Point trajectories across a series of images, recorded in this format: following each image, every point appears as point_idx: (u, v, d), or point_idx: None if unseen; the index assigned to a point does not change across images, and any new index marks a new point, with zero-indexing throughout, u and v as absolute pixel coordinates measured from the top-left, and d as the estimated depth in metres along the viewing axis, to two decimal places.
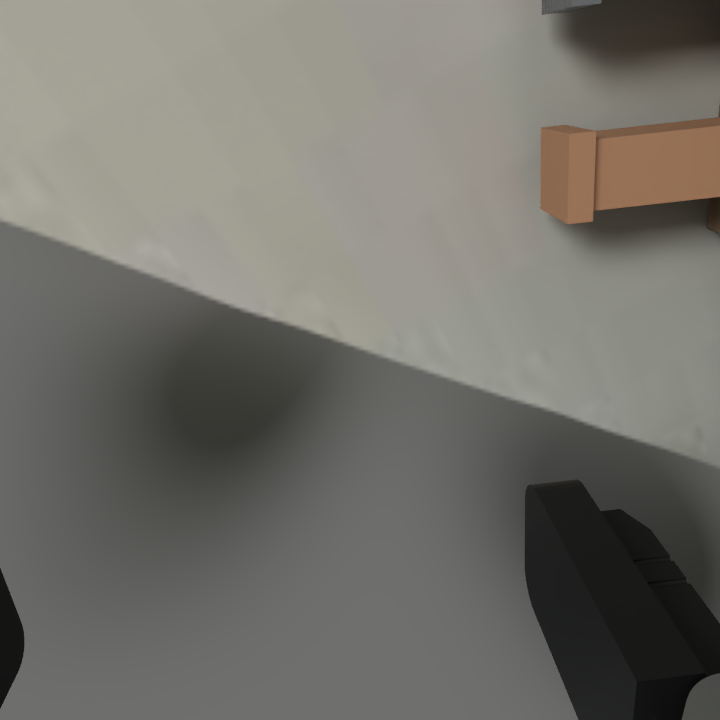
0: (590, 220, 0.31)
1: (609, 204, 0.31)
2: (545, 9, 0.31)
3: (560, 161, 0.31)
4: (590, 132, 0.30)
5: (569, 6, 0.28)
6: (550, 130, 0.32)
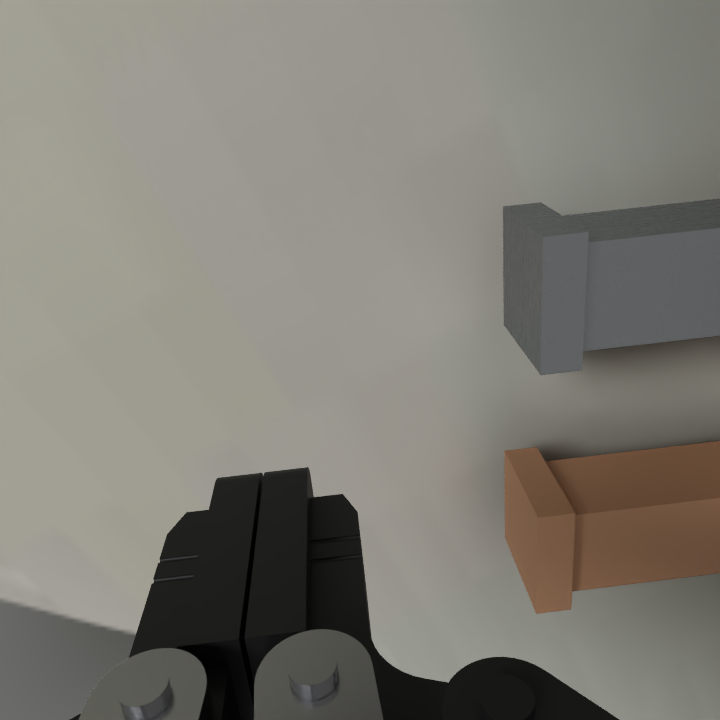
0: (567, 608, 0.23)
1: (593, 583, 0.23)
2: (507, 325, 0.22)
3: (527, 529, 0.23)
4: (567, 514, 0.21)
5: (537, 368, 0.20)
6: (515, 472, 0.24)
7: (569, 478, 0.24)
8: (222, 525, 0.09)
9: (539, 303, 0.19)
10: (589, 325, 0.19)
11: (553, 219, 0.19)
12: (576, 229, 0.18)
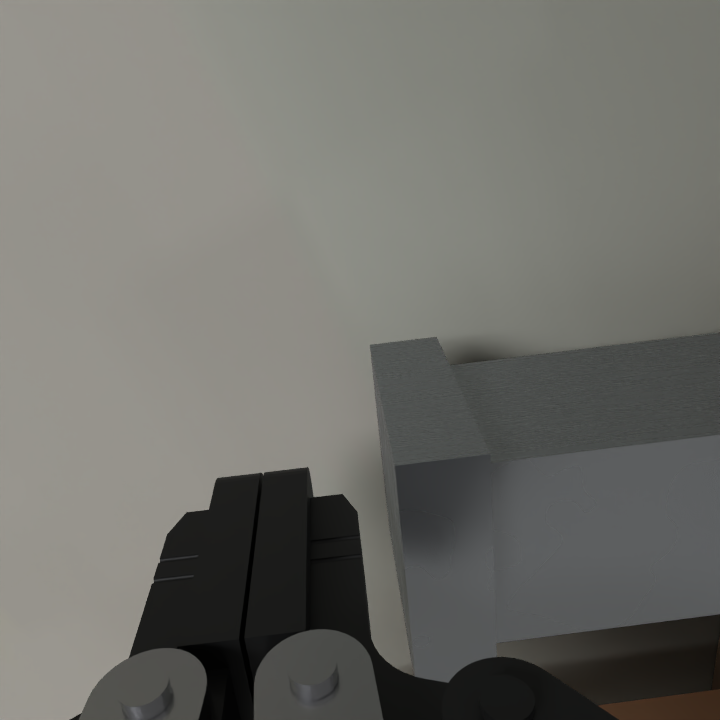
0: None
1: None
2: (391, 536, 0.13)
3: None
4: None
5: (414, 673, 0.10)
6: None
7: None
8: (222, 525, 0.09)
9: (404, 573, 0.09)
10: (510, 601, 0.10)
11: (437, 397, 0.10)
12: (469, 441, 0.09)
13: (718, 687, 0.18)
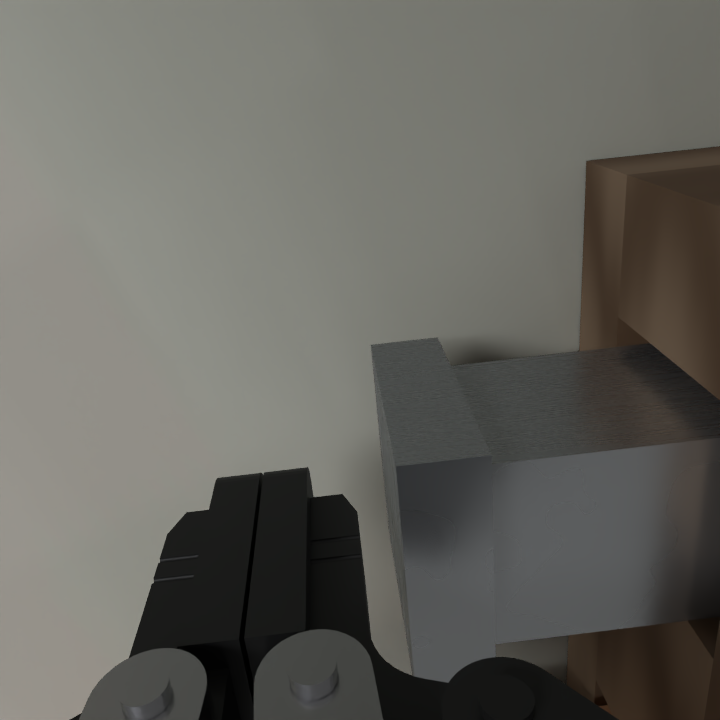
0: None
1: None
2: (390, 536, 0.13)
3: None
4: None
5: (413, 673, 0.10)
6: None
7: None
8: (222, 525, 0.09)
9: (403, 573, 0.09)
10: (509, 601, 0.10)
11: (438, 398, 0.10)
12: (470, 442, 0.09)
13: None
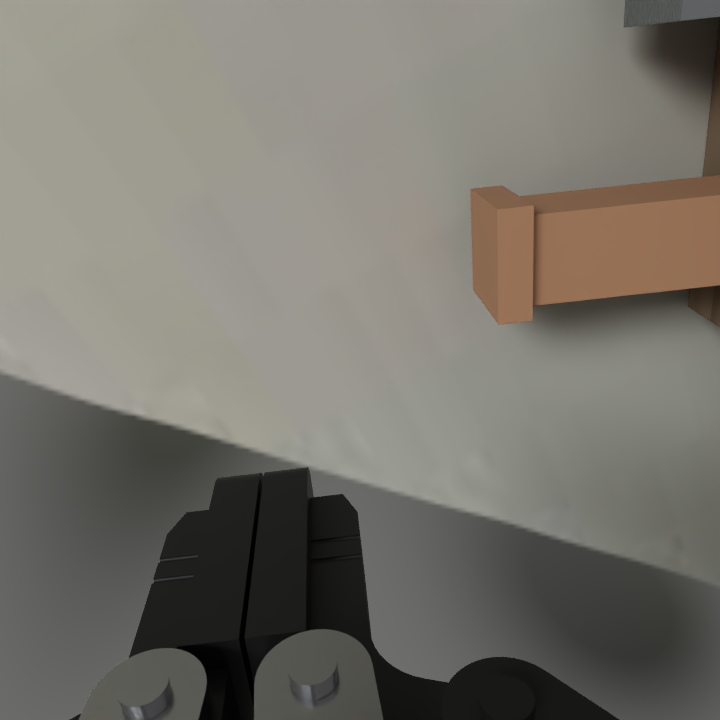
0: (529, 319, 0.23)
1: (554, 297, 0.24)
2: (630, 20, 0.23)
3: (489, 241, 0.23)
4: (525, 207, 0.22)
5: (675, 20, 0.20)
6: (479, 196, 0.24)
7: (532, 202, 0.24)
8: (222, 525, 0.09)
9: None
10: None
11: None
12: None
13: None
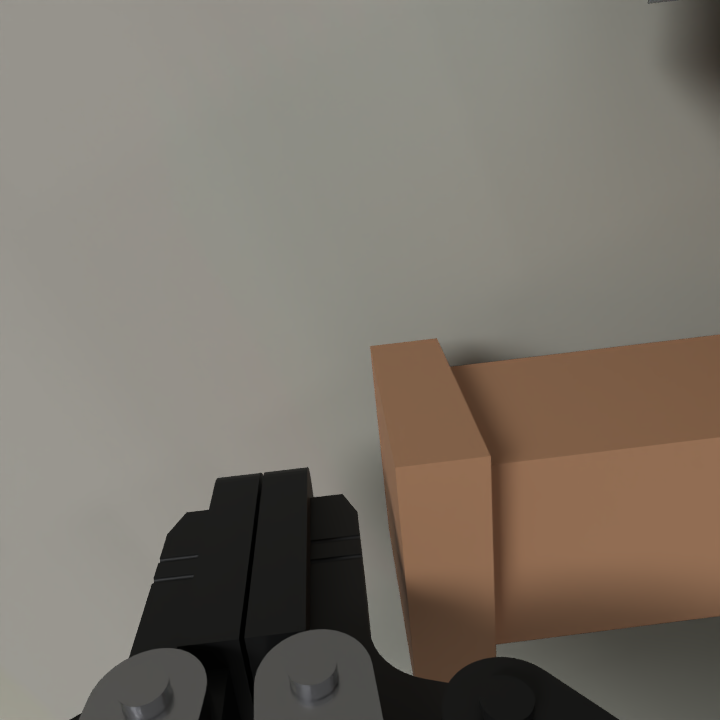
0: None
1: (549, 626, 0.10)
2: None
3: (394, 504, 0.10)
4: (470, 460, 0.08)
5: None
6: (377, 381, 0.11)
7: (496, 393, 0.11)
8: (222, 525, 0.09)
9: None
10: None
11: None
12: None
13: None
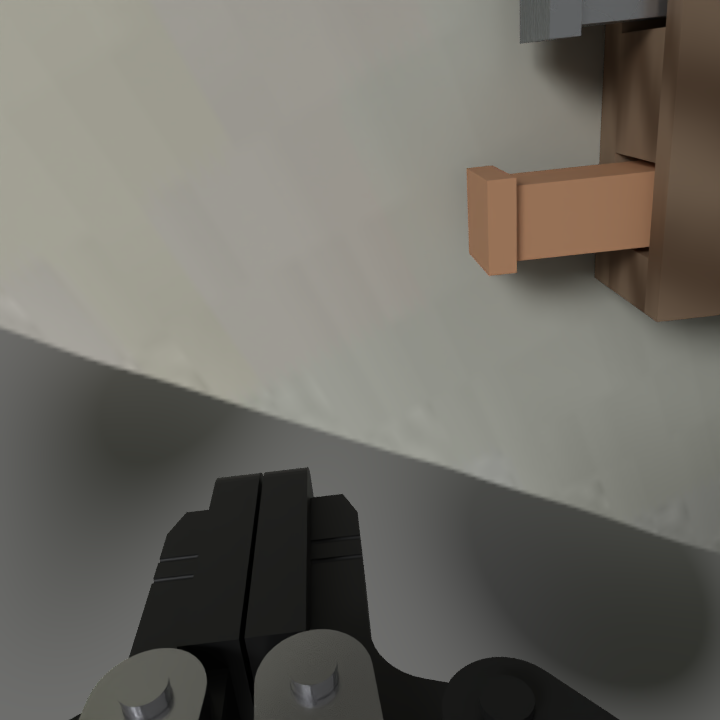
0: (513, 271, 0.29)
1: (534, 254, 0.29)
2: (523, 38, 0.29)
3: (482, 208, 0.29)
4: (510, 179, 0.27)
5: (546, 38, 0.26)
6: (473, 173, 0.30)
7: (516, 177, 0.30)
8: (222, 525, 0.09)
9: None
10: (586, 0, 0.25)
11: None
12: None
13: None
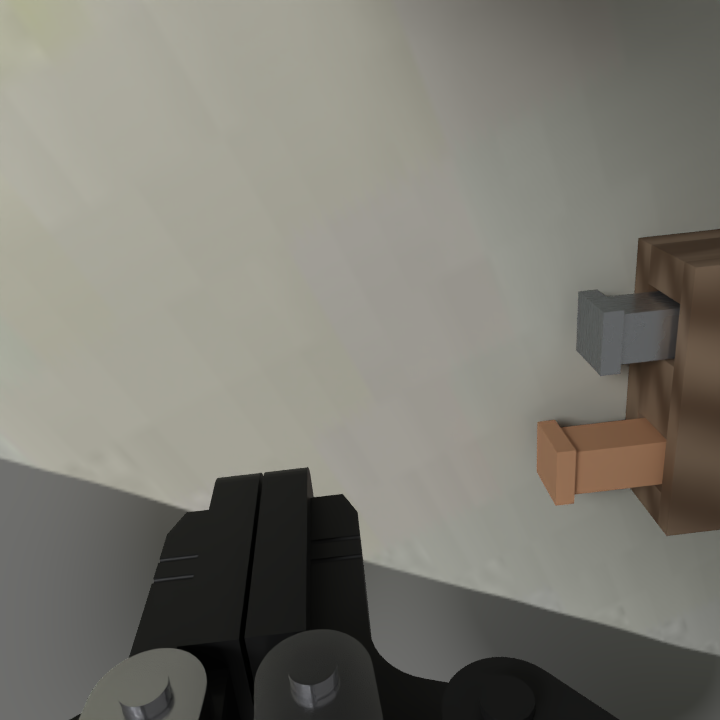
0: (572, 502, 0.44)
1: (585, 490, 0.44)
2: (579, 350, 0.43)
3: (551, 461, 0.44)
4: (572, 451, 0.42)
5: (598, 372, 0.41)
6: (544, 432, 0.45)
7: (572, 435, 0.45)
8: (222, 525, 0.09)
9: (600, 342, 0.40)
10: (623, 352, 0.40)
11: (606, 301, 0.40)
12: (618, 308, 0.39)
13: None
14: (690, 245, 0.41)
